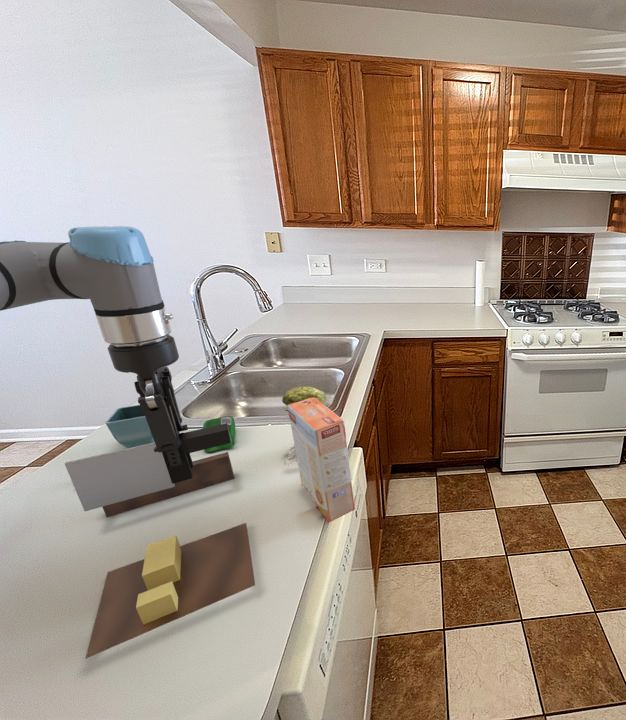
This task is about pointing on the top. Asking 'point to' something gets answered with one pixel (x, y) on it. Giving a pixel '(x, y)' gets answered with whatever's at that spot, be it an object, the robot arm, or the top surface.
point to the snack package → (219, 421)
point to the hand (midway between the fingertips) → (183, 474)
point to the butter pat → (157, 602)
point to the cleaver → (134, 469)
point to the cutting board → (194, 589)
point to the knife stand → (182, 484)
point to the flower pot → (130, 426)
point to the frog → (297, 396)
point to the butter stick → (162, 563)
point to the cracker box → (322, 457)
